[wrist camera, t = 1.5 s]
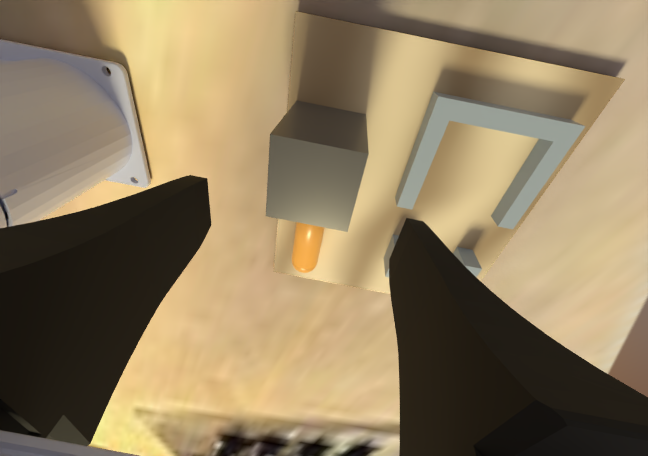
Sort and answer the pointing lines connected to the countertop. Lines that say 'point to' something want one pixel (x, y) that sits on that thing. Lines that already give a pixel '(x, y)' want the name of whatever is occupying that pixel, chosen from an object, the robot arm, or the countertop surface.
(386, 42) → the board
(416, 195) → the holder
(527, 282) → the countertop surface
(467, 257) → the clip
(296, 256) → the plug
